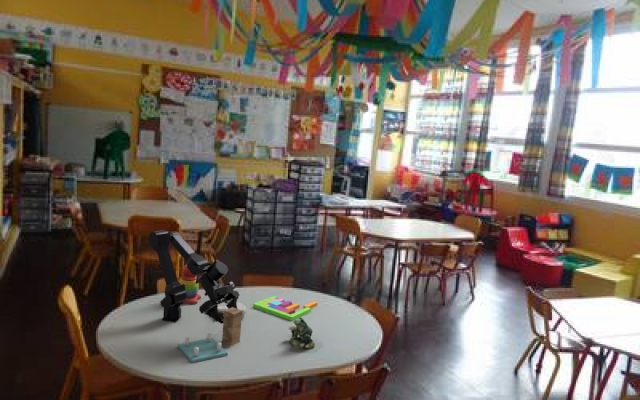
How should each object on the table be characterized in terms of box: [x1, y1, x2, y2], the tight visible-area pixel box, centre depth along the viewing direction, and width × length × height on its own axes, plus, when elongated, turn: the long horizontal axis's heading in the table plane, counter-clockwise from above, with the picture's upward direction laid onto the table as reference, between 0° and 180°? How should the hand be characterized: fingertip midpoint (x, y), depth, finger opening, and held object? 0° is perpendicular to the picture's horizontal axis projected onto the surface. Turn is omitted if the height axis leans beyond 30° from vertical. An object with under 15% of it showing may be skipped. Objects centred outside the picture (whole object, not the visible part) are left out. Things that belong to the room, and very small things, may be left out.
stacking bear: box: [178, 263, 202, 305], centre depth 241 cm, size 11×10×18 cm
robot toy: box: [217, 301, 247, 318], centre depth 228 cm, size 12×4×15 cm
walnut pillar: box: [221, 307, 243, 346], centre depth 201 cm, size 5×5×13 cm
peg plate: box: [177, 333, 229, 364], centre depth 192 cm, size 14×14×4 cm
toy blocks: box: [252, 295, 319, 322], centre depth 245 cm, size 23×2×25 cm
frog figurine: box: [288, 316, 323, 352], centre depth 206 cm, size 18×18×12 cm
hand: (230, 319), depth 201 cm, fingers open, 9 cm apart
